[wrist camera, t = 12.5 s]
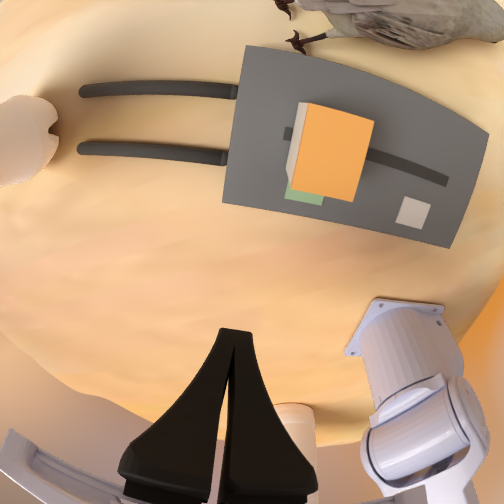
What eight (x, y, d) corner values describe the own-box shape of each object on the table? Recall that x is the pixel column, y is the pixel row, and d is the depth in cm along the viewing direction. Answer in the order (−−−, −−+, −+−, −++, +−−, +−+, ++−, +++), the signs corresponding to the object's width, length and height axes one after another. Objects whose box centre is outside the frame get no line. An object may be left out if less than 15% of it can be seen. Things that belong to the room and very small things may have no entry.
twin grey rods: (242, 86, 15) (240, 85, 14) (229, 165, 18) (228, 168, 17) (84, 85, 15) (76, 85, 14) (81, 153, 18) (74, 156, 17)
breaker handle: (349, 115, 14) (374, 121, 10) (334, 178, 16) (352, 202, 12) (298, 102, 14) (309, 102, 10) (285, 167, 16) (291, 189, 12)
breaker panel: (474, 129, 15) (489, 134, 13) (438, 237, 20) (449, 249, 18) (248, 51, 14) (245, 44, 12) (226, 192, 19) (221, 203, 17)
